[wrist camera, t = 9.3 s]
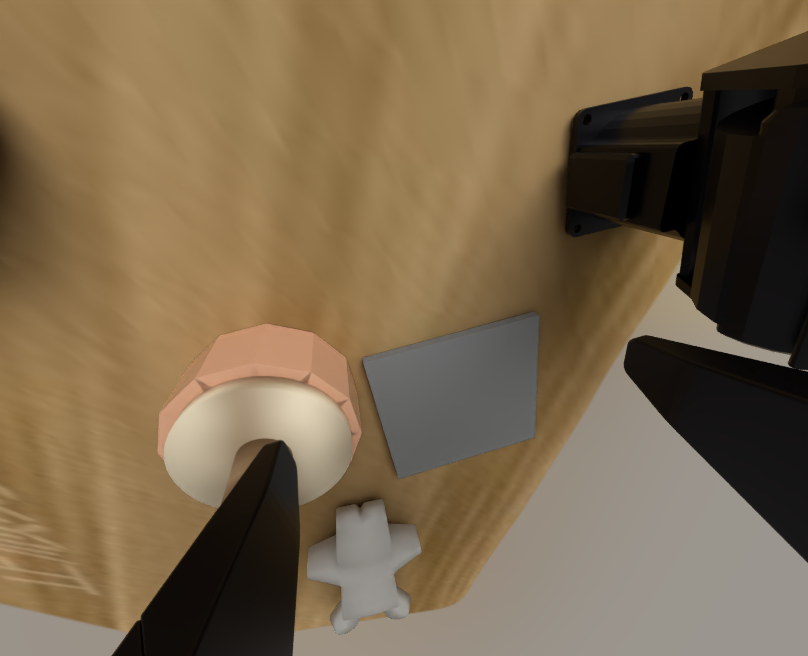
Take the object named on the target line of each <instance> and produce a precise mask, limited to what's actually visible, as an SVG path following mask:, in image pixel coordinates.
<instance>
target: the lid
mask: <svg viewBox="0 0 808 656" xmlns="http://www.w3.org/2000/svg"><path fill="white" fill-rule="evenodd" d="M277 440H283V441H284V442H285V443H286V445H287V447H288V449H289V451H290V453H291V454H292V456H293V458H294V460H295V462H296V466H297V474H298V497H299V506H300V505H303V504H306V503H308V502H310V501H312V500H314V499H316V498H318V497H320V496H321V495H323V494H324V493H326V492H327V491H328V490H330V489H331V488H332V487H333V486H334V485H335V484H337V482H338V481H339V480H340V479H341V478H342V476H343V475H344V473H345V472H346V470H347V468H348V466H349V464H350V460H351V457H352V439H351V428H350V424H349V421H348V418H347V416H346V414H345V412H344V411H343V409H342V408H341V407H340V405H339V404H338V403H337V402H336V401H335V400H334V399H333V398H331V397H330V396H329V395H328V394H326V393H325V392H323V391H321V390H320V389H318V388H316V387H314V386H312V385H309V384H307V383H304V382H301V381H298V380H294V379H289V378H284V377H275V376H252V377H244V378H239V379H234V380H230V381H227V382H224V383H221V384H218V385H216V386H213V387H211V388H209V389H207V390H205V391H204V392H202V393H201V394H199V395H197V396H196V397H195V398H194V399H193V400H191V401H190V402H189V403H188V404H187V405H186V406H185V407H184V409H183V410H182V411H181V413H180V414H179V416H178V418H177V419H176V421H175V423H174V425H173V427H172V428H171V430H170V432H169V434H168V436H167V439H166V442H165V446H164V462H165V465H166V469H167V471H168V473H169V475H170V477H171V478H172V480H173V481H174V482H175V483H176V485H177V486H178V487H179V488H180V489H181V490H183V491H184V492H185V493H186V494H188V495H189V496H191V497H192V498H194V499H196V500H198V501H199V502H202V503H204V504H206V505H209V506H212V507H215V508H219V506H220V505H221V504H222V502H223V501H224V499H225V498H226V497H227V495H228V494H229V493H230V491H231V490H232V488H233V487H234V486H235V484H236V483H237V481H238V480H239V479H240V477H241V476H242V474H243V473H244V472H245V470H246V469H247V468H248V466H249V465H250V463H251V462H252V461H253V459H254V458H255V456H256V455H257V454H258V452H259V451H260V450H261V448H262V447H263V446H264V445H265V444H267V443H270V442H274V441H277Z"/></svg>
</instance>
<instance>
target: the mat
mask: <svg viewBox="0 0 808 656" xmlns="http://www.w3.org/2000/svg"><path fill="white" fill-rule="evenodd" d="M538 339H539V315H538V314H537V313H536V312H535V311H534V312H530V313H526V314H523V315H519V316H515V317H512V318H508V319H504V320H501V321H497V322H493V323H489V324H486V325H482V326H478V327H475V328H471V329H467V330H464V331H460V332H456V333H452V334H449V335H445V336H441V337H438V338H434V339H430V340H427V341H423V342H419V343H416V344H412V345H408V346H404V347H401V348H397V349H393V350H390V351H386V352H382V353H379V354H375V355H371V356H367V357H364V358H362V359H363V364H364V367H365V370H366V374H367V377H368V380H369V384H370V387H371V390H372V393H373V397H374V400H375V403H376V407H377V410H378V413H379V416H380V420H381V423H382V426H383V429H384V433H385V436H386V439H387V443H388V446H389V449H390V452H391V456H392V459H393V462H394V465H395V469H396V472H397V475H398V479H401V478H404V477H407V476H411V475H414V474H417V473H420V472H424V471H427V470H430V469H433V468H437V467H440V466H443V465H447V464H450V463H453V462H456V461H460V460H463V459H466V458H469V457H473V456H476V455H479V454H482V453H486V452H489V451H492V450H495V449H499V448H502V447H505V446H509V445H512V444H515V443H518V442H522V441H525V440H528V439H531V438H535V426H536V397H537V368H538Z"/></svg>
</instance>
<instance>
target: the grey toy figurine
mask: <svg viewBox="0 0 808 656" xmlns="http://www.w3.org/2000/svg"><path fill="white" fill-rule="evenodd" d="M420 553H421V546H420V542H419V538H418V534H417V530H416V527H415V524H390V523H388V522H387V516H386V510H385V505H384V503H383V499H379V500H374V501H369V502H364V503H363V505H362V506H361V507H358V506H357V505H356V504H354V505H348V506H343V507H338V508H336V535H334V536H332V537H330V538H327V539H325V540H323V541H321V542H319V543H317V544H315V545H312V546H310V547H308V561H307V579H310V580H315V581H320V582H325V583H330V584H334V585H338V586H341V600H340V602H339V603H338V605H337V606H336V608H335V609H334V610H333V612H332V613H331V615H330V621H331V623H332V626H333V628H334V631H335V633H337V634H339V635H340V634H345V633H348V632H350V631H351V630H352V629H354V628H355V626H356V625H357V624H358V621H359V618H363V617H368V616H372V615H375V614H379V613H382V612H384V613H385V614H386V616H387V617H389V618H391V619H402V618H405V617H406V616H407V615H408V614H409V607H410V600H411V598H410V595H409V594H408V593H406V592H405V591H404V590H402V589H401V588H399V587H398V586H397V585H396V582H395V577H394V573H395V572H396V571H398V570H399V569H400V568H401V567H403V566H404V565H405V564H407V563H408V562H409V561H411V560H412V559H413V558H415V557H416V556H417V555H419V554H420Z"/></svg>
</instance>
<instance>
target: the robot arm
mask: <svg viewBox="0 0 808 656" xmlns="http://www.w3.org/2000/svg"><path fill="white" fill-rule="evenodd" d="M700 91H704V92H703V98H699V99H692V97H693V91H692V88H690V87H682V88H677V89H672V90H668V91H663V92H658V93H654V94H649V95H645V96H640V97H635V98H631V99H626V100H621V101H617V102H612V103H607V104H603V105H598V106H594V107H589V108H584V109H581V110H579V111H578V112H577V113H576V115H575V117H574V119H573V128H572V142H571V156H570V160H569V173H568V187H567V202H566V205H567V213H566V227H565V230H566V233H567V234H568V235H570V236H572V237H578V236H582V235H586V234H590V233H594V232H598V231H602V230H606V229H610V228H614V227H618V226H622V225H624V226H628V227H632V228H636V229H639V230H643V231H647V232H651V233H655V234H658V235H662V236H666V237H670V238H674V239H677V240H681V241H684V244H683V251H682V259H681V266H680V273H678V274H677V277H676V286H677V287H678V288H679V289H680V290H682V291H683V292H684V293H685V294H686V295H687V296H689V297H690V298H691V299H692V301H693V303H694V305H695V307H696V309H697V310H699V311H700V312H701V313H703V314H704V315H705V316H707V317H708V318H709V319H711V320H712V321H713V322H715V323H717V331H718V332H720V333H721V334H723V335H725V336H727V337H730V338H732V339H734V340H737V341H740V342H742V343H744V344H747V345H751V346H755V347H758V348H762V349H765V350H769V351H773V352H778V353H783V354H789V355H791V356H790V359H789V361H788V365H789V366H790V367H792V368H789V367H785V366H780V365H775V364H772V363H767V362H763V361H759V360H754V359H750V358H745V357H741V356H737V355H732V354H728V353H723V352H718V351H715V350H710V349H705V348H701V347H697V346H692V345H688V344H684V343H679V342H675V341H670V340H666V339H662V338H657V337H653V336H648V335H645V336H641V337H637V338H634V339H631V340H630V341H629V342H628V345H627V350H626V355H625V360H624V369H625V371H626V373H627V374H628V376H629V377H630V378H631V379H632V380H633V382H634V383H635V384H636V385H637V386H638V388H639V389H640V390H641V391H642V392H643V394H644V395H645V396H646V397H647V399H648V400H649V401H650V402H651V403H652V405H653V406H654V407H655V408H656V409H657V410H658V412H659V413H660V414H661V415H662V416H663V418H664V419H665V420H666V421H667V422H668V423H669V424H670V425H671V426H672V427H673V428H674V429H675V430H676V431H677V432H678V433H679V434H680V435H681V436H682V437H683V438H684V439H685V440H686V441H687V442H688V443H689V444H690V445H691V446H692V447H693V448H694V449H695V450H696V451H697V452H698V453H699V454H700V455H701V456H702V457H703V458H704V459H705V460H706V461H707V462H708V463H709V464H710V465H711V466H712V467H713V468H714V469H715V470H716V471H717V472H718V473H719V474H720V475H721V476H722V477H723V478H724V479H725V480H726V481H727V482H728V483H729V484H730V485H731V486H732V487H733V488H734V489H735V490H736V491H737V492H738V493H739V494H740V495H741V496H742V497H743V498H744V499H745V500H746V501H747V502H748V503H749V504H750V505H751V506H752V508H754V510H755V511H756V512H758V513H759V515H761V517H762V518H763V519H765V521H766V522H767V523H768V524H769V525H771V527H772V528H773V529H775V531H776V532H777V533H779V535H780V536H781V537H782V538H784V540H785V541H786V542H787V543H788V544H790V546H791V547H793V549H794V550H796V552H798V554H799V555H800V556H801V557H802V558H803V559H804V560H805V561H806V562H807V563H808V372H807V371H802V370H808V31H807V32H804V33H802V34H799V35H797V36H794V37H792V38H789V39H787V40H784V41H782V42H779V43H776V44H774V45H771V46H769V47H766V48H764V49H761V50H759V51H756V52H754V53H751V54H749V55H746V56H744V57H741V58H739V59H736V60H733V61H731V62H728V63H726V64H723V65H721V66H718V67H716V68H713V69H711V70H708V71H706V72H703V73H702V81H701V88H700ZM680 97H681V101H680ZM584 116H586V122H585V124H584V125H583V122H582V120H583V117H584ZM576 225H577V228H576V229H575V230H573V229H574V227H575V226H576ZM794 368H795V369H794ZM798 369H800V370H798ZM299 548H300V519H299V497H298V474H297V466H296V462H295V460H294V458H293V456H292V454H291V453H290V451H289V449H288V447H287V445H286V443H285V442H284V441H283V440H277V441H274V442H270V443H267V444H265V445H264V446H263V447H262V448H261V450H260V451H259V452H258V454H257V455H256V456H255V458H254V459H253V461H252V462H251V463H250V465H249V466H248V468H247V469H246V470H245V472H244V473H243V474H242V476H241V477H240V479H239V480H238V481H237V483H236V484H235V486H234V487H233V488H232V490H231V491H230V493H229V494H228V495H227V497H226V498H225V499H224V501H223V502H222V504H221V505H220V506H219V508H218V509H217V511H216V512H215V513H214V515H213V516H212V518H211V519H210V520H209V522H208V523H207V524H206V526H205V527H204V529H203V530H202V531H201V533H200V534H199V536H198V537H197V538H196V540H195V541H194V542H193V544H192V545H191V547H190V548H189V549H188V551H187V552H186V554H185V555H184V556H183V558H182V559H181V561H180V562H179V563H178V565H177V566H176V567H175V569H174V570H173V572H172V573H171V574H170V576H169V577H168V579H167V580H166V581H165V583H164V584H163V585H162V587H161V588H160V590H159V591H158V592H157V594H156V595H155V597H154V598H153V599H152V601H151V602H150V604H149V605H148V606H147V608H146V609H145V610H144V612H143V613H142V615H141V620H138V621H137V622H136V623H135V624H134V625H133V627H132V628H131V630H130V631H129V632H128V634H127V635H126V637H125V638H124V640H123V641H122V642H121V644H120V645H119V646H118V648H117V649H116V651H115V652H114V653H113V655H112V656H292V655H293V640H294V625H295V610H296V594H297V579H298V563H299Z"/></svg>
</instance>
